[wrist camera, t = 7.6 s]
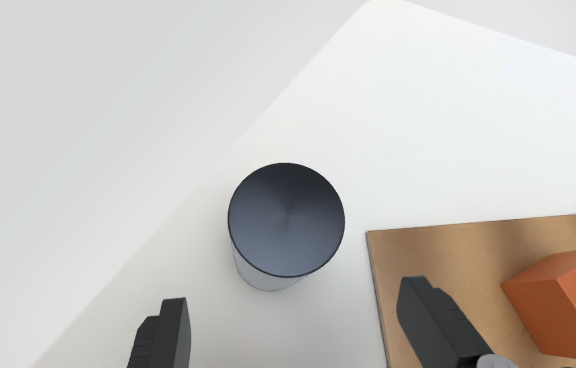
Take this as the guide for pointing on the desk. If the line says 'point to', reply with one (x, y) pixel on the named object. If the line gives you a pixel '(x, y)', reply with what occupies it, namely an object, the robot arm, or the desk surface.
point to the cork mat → (468, 278)
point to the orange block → (547, 302)
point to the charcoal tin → (284, 225)
